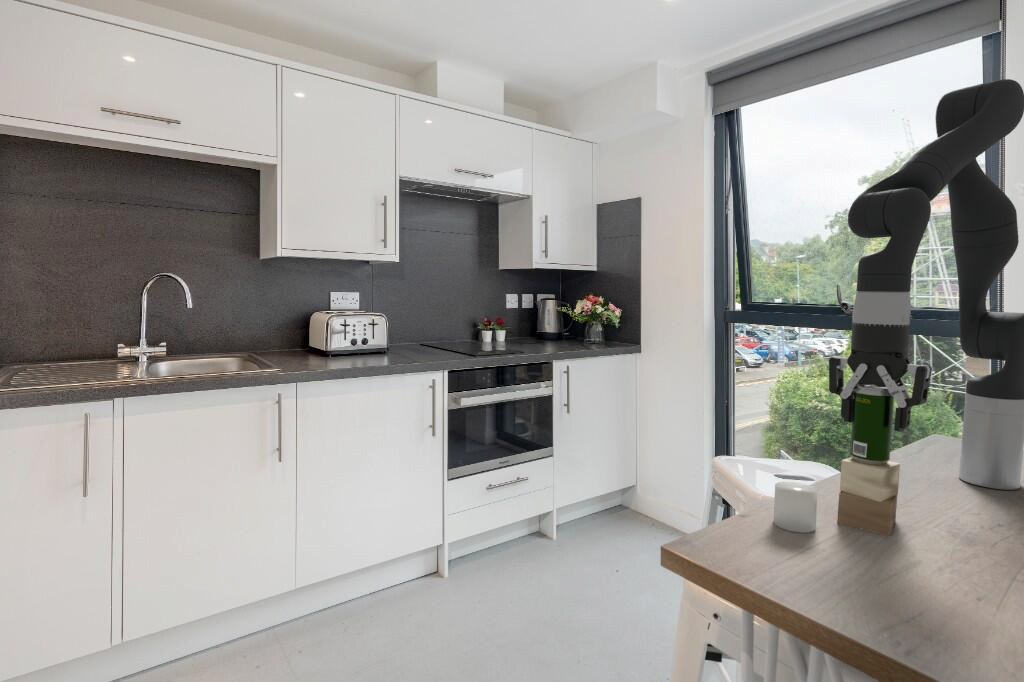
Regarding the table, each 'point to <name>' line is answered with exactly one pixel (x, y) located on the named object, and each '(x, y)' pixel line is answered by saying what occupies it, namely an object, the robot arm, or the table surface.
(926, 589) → the table surface
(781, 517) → the white rounded cylinder
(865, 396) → the guarana soda can
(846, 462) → the top block
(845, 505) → the base block
